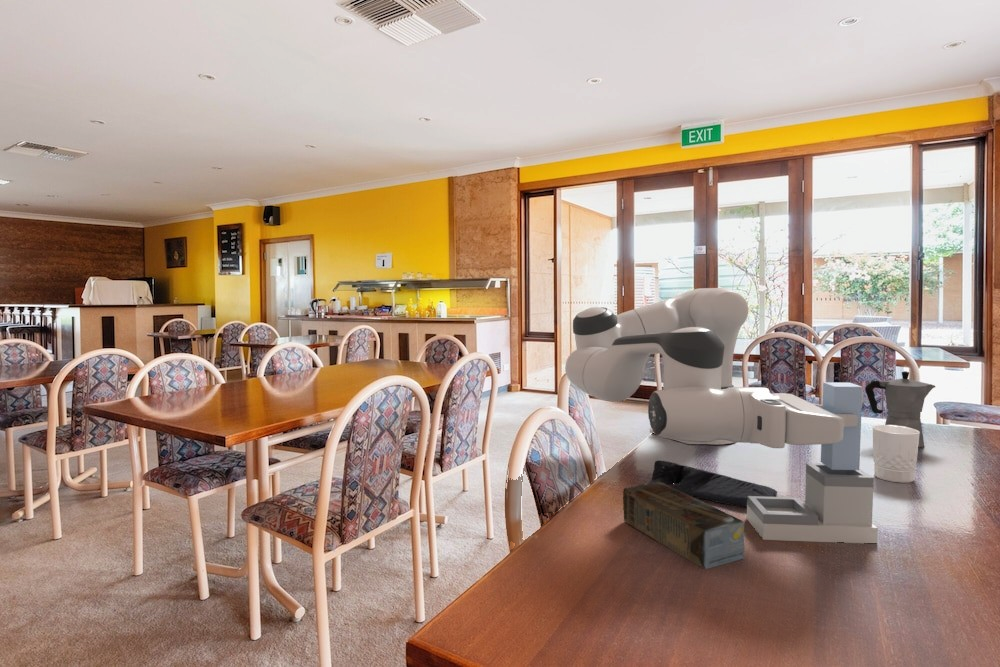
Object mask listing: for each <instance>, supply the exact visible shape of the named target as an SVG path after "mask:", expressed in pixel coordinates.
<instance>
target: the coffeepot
mask: <svg viewBox="0 0 1000 667" xmlns="http://www.w3.org/2000/svg"><path fill="white" fill-rule="evenodd" d="M909 374H910V372H909V371H901V376H902V378H897V379H890V380H889V379H888V380H871V381H870V382H869V383H868V384H867V385H866V386H865V387H864V388H865V389H864V391H865V393H866V395H867V399H868V403H869V404H870V405H869V406H870V408H871V410H872V413H874V414H883V411H884V409H879V408H878V402H877V400H876V397H875V392H874V389H881V390H884V393H885V394H884V395H885V403H886V409H887V416H886V419H885V420H886V421H885V424H884V425H893V426H902V427H908V428H912V429H915V430H918V431H919V432H920V435H919V445H918V447H921V448H924V447H925V441H924V435H923V427H922V420H921V413H922V411H923V409H924V404H925V399H926V397H927V396H928V395H929V393H930V392H931V391H932V390H933V389H934V388H936V385H934V384H929V383H926V382H922V381H916V380H915V379H914V380H913V379H909V376H910V375H909ZM923 446H924V447H923Z"/></svg>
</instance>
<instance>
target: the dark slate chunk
mask: <svg viewBox="0 0 1000 667" xmlns="http://www.w3.org/2000/svg"><path fill="white" fill-rule="evenodd" d="M657 481H659V482H661V483H664V484H666V485H668V486H670V487H673V488H675V489H677V490H679V491H681V492H683V493H685V494H687V495H689V496H692V497H694V498H699V499H702V500H708V501H710V500H714V501H713V502H716V501H717V503H721V502H722V503H721V504H725V503H726V504H725V505H731V504H733V505H732V506H739V505H740V507H747V500H748V496H764V497H778V496H777V495H778V491H777V490H776V489H775V488H772V487H770V486H766V485H762V484H758V483H755V482H751V481H750V482H749V481H747V480H741V479H739V478H734V477H731V476H727V475H724V474H719V473H716V472H713V471H712V472H711V471H708V470H704V469H700V468H696V467H693V466H689V465H684V464H679V463H676V462H671V461H668V460H667V461H666V460H662V459H659V460H655V461H654V465H653V472H652V478H651V480H650V481H649V482H647V483H646V484H649V483H653V482H657ZM678 482H680V483H678ZM673 483H676V484H673Z"/></svg>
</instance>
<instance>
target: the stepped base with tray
mask: <svg viewBox="0 0 1000 667" xmlns="http://www.w3.org/2000/svg"><path fill="white" fill-rule="evenodd" d="M874 481H875V480H874V477H873V476H871V475H870V474H868V473H866V472H865V471H864V470H862V469H860V468H859V470H832V469H830V468H829V467H827V466H826V465H824V464H823V463H821V462H820V463H817V462H815V463H814V462H811V463H810V462H809V463H808V462H807V463H805V494H804V502H803V501H802V500H801V499H800V498H799V497H793V496H792V497H791V496H776V497H764V496H748V500H747V506H746V520H747V521H748V523H749V524H750V525H751V526H752V527H753V528H755V529H754V530H755V531H756V533H757V534H758V533H759V534H758V535H759V536H760V538H761V537H762V538H761V539H762V540H764V541H787V542H791V541H792V542H811V543H812V542H813V543H814V542H815V543H816V542H817V543H837V542H844V543H843V544H864V543H877V544H878V538H879V537H878V532H879V530H878V529H879V528H878V526H876V525H875V524H873V507H874V504H873V501H874Z"/></svg>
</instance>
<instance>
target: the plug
mask: <svg viewBox="0 0 1000 667" xmlns="http://www.w3.org/2000/svg"><path fill="white" fill-rule="evenodd" d="M863 396H864V390H863V386H862V385H858V384H855V383H853V382H841V381H840V382H837V381H836V382H835V381H834V382H832V381H831V382H825V381H824V382H823V383H822V404H821V405H822V409H824V410H827V411H829V412H831V413H833V414H841V413H852V414H854V415H857V417H858V424H857V426H855V427H848V426H845V427H844V430H843V440H842V441H840V442H837V443H833V444H820V445H821V446H820V463H823V464H824V465H826V466H827V467H829V468H830V469H832V470H859V469H860V463H861V462H860V460H861V432H862V409H863V408H862V407H863V403H864V402H863V399H864V397H863Z"/></svg>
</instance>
